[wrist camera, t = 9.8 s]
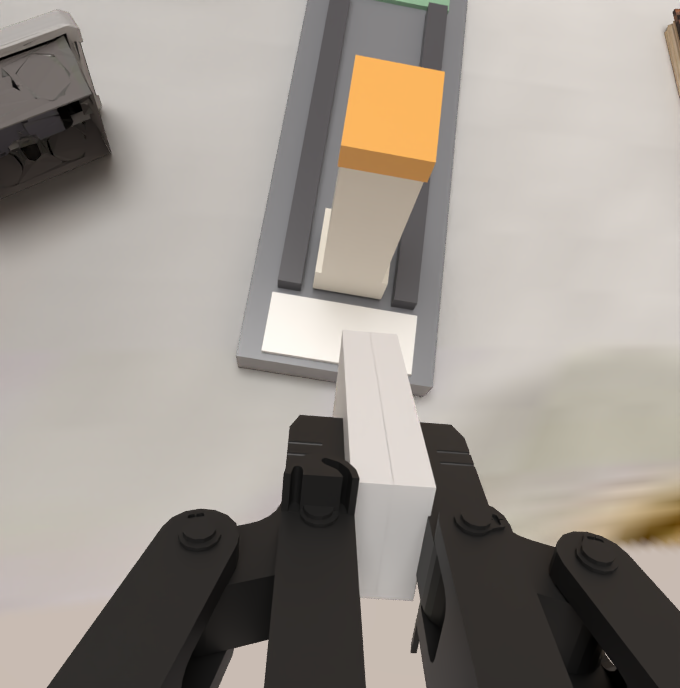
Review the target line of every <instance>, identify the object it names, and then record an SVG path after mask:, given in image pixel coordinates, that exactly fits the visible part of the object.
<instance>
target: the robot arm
mask: <svg viewBox="0 0 680 688" xmlns="http://www.w3.org/2000/svg"><path fill="white" fill-rule="evenodd" d="M417 582H418V589H419V594H420V605H419V609H418V615H417V619H416V623H415V628H414V633H413V638H412V642H411V653H417V648H418V644H419V642H420V649H421V654H422V662H423V668H424V674H425V681H426V687H427V688H680V611H679V610H678V609H677V608H676V607H675V605H674V604H673V603H672V602H671V601H670V600H669V599H668V598H667V597H666V596H665V595H664V593H663V592H662V591H661V590H660V589H659V588H658V587H657V586H656V585H655V583H654V582H653V581H652V580H651V579H650V578H649V577H648V576H647V575H646V574H645V572H643V570H641V568H640V567H639V566H638V565H637V564H636V562H635V561H634V560H633V559H632V558H631V557H630V556H629V555H628V554H627V553H626V552H625V551H624V550H623V549H621V548H620V547H619V546H618V545H617V544H615V543H613V542H612V541H610V540H608V539H606V538H604V537H602V536H599V535H596V534H592V533H589V532H571V533H567V534H564V535H563V536H562V537H561V538H560V539H559V540H558V542H557V544H556V547H552V546H549V545H546V544H542V543H539V542H535V541H532V540H529V539H526V538H524V537H521V536H519V535H517V534H515V533H513V531H512V529H511V526H510V524H509V523H508V521H507V520H506V518H505V517H504V515H502V514H501V513H500V512H498V511H497V510H496V509H495V508H493V507H491V506H489V505H488V502H487V499H486V496H485V494H484V491H483V488H482V485H481V483H480V480H479V477H478V474H477V472H476V469H475V467H474V463H473V461H472V458H471V455H469V449H468V447H467V444H466V441H465V438H464V437H463V436H462V435H461V434H460V433H459V432H458V431H457V430H456V429H455V428H454V427H453V426H452V425H447V424H434V423H421V422H419V418H418V414H417V410H416V406H415V402H414V398H413V394H412V391H411V387H410V383H409V379H408V375H407V371H406V367H405V363H404V359H403V355H402V351H401V347H400V343H399V340H398V336H397V334H387V333H375V332H363V331H352V330H342V338H341V347H340V356H339V365H338V374H337V383H336V392H335V401H334V410H333V417H320V416H307V415H300V416H299V417H298V418H297V419H296V420H295V421H294V422H293V424H292V425H291V426H290V430H289V440H288V450H287V460H286V469H285V472H284V477H283V490H282V502H281V504H280V506H279V507H278V509H277V510H276V511H275V512H274V513H272V514H271V515H270V516H269V517H267V518H264V519H262V520H260V521H257V522H254V523H250V524H245V525H239V526H237V525H236V523H235V522H234V521H233V520H232V519H231V518H230V517H229V516H228V515H226V514H223V513H221V512H218V511H216V510H208V509H196V510H190V511H185V512H183V513H181V514H178V515H176V516H174V517H172V518H171V519H170V520H169V521H168V522H167V523H166V524H165V525H163V526H162V528H161V529H160V531H159V532H158V533H157V535H156V536H155V538H154V539H153V540H152V542H151V543H150V545H149V546H148V547H147V549H146V550H145V552H144V553H143V554H142V556H141V557H140V559H139V560H138V561H137V563H136V564H135V565H134V567H133V568H132V570H131V571H130V572H129V574H128V575H127V577H126V578H125V579H124V581H123V582H122V584H121V585H120V586H119V588H118V589H117V591H116V592H115V593H114V595H113V596H112V598H111V599H110V600H109V602H108V603H107V604H106V606H105V607H104V609H103V610H102V611H101V613H100V614H99V616H98V617H97V618H96V620H95V621H94V623H93V624H92V625H91V627H90V628H89V630H88V631H87V632H86V634H85V635H84V637H83V638H82V639H81V641H80V642H79V644H78V645H77V646H76V648H75V649H74V650H73V652H72V653H71V655H70V656H69V657H68V659H67V660H66V662H65V663H64V664H63V666H62V667H61V669H60V670H59V672H58V673H57V674H56V676H55V677H54V679H53V680H52V681H51V683H50V684H49V686H48V687H47V688H218V687H219V685H220V682H221V680H222V677H223V676H224V673H225V671H226V669H227V666H228V664H229V662H230V660H231V657H232V654H233V650H234V648H237V647H241V646H245V645H249V644H253V643H257V642H261V641H264V640H269V641H268V652H267V662H266V673H265V683H264V688H366V684H365V669H364V654H363V637H362V622H361V608H360V598H374V599H391V600H408V601H412V600H413V598H414V594H415V589H416V584H417ZM605 653H606V654H607V656H608V657H609V658H610V660H611V661H612V663H613V664H614V665H615V666H614V665H613V664H612V663H611V662H610V660H609V659H608V658H607V656H606V655H605Z"/></svg>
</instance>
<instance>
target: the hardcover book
mask: <svg viewBox="0 0 680 688" xmlns="http://www.w3.org/2000/svg"><path fill="white" fill-rule="evenodd" d="M673 16H674V20H675V21H673V24H670V25H668V28H667V31H666V32H665V37H666V41H667V46H668V50H669V54H670V58H671V62H672V67H673V71H674V75H675V79H676V84H677V88H678V92H679V96H680V9H674V11H673Z"/></svg>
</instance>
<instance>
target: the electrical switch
mask: <svg viewBox="0 0 680 688" xmlns="http://www.w3.org/2000/svg"><path fill="white" fill-rule="evenodd" d="M81 42H83V39H82V36H81V33H80V29H79V28H78V26H77V24H76V23H75V21H74V20H73V18H72V16H71V15H70V13H68V12H65V11H61V10H54V11H51V12H48V13H45V14H42V15H39V16H37V17H34V18H31V19H28V20H25V21H22V22H19V23H16V24H13V25H11V26H8V27H5V28H2V29H0V199H2V198H4V197H7V196H9V195H11V194H14V193H16V192H18V191H21V190H23V189H26V188H28V187H30V186H33V185H35V184H38V183H40V182H42V181H45V180H47V179H50V178H52V177H54V176H57V175H59V174H61V173H64V172H66V171H69V170H71V169H73V168H76V167H78V166H81V165H83V164H85V163H88V162H90V161H93V160H95V159H97V158H100V157H102V156H105V155H107V154H109V153H110V152H111V150H110V147H109V143H108V140H107V137H106V133H105V130H104V127H103V124H102V120H101V117H100V114H99V109H100V108H101V107H102V104H101V101H100V98H99V96H98V95H96V93H95V90H94V86H93V83H92V80H91V76H90V73H89V70H88V66H87V63H86V60H85V56H84V53H83V50H82V46H81ZM83 121H86V122H85V124H84V125H83V124H82V123H81V122H83ZM71 126H73V127H71ZM83 134H84V135H85V136H86V139H85V137H84V135H83ZM49 137H50V138H49ZM48 139H49V140H48ZM103 139H104V140H103ZM47 140H48V142H49V144H50V147H51V149H52V152H53V155H54V156H55V157H54V156H52V155H51V153H50V151H49V150H48V145H47ZM104 141H105V142H104ZM35 143H37V145H38V147H39V150H40V152H41V156H40V157H39V158H38V159H37V160H33V161H32V160H29V159H28V158H27V157H26V156H25V154H24V153H23V152H22V150H21V149H20V148H22V147H25V146H29V145H32V144H35ZM105 143H106V144H105ZM106 145H107V146H108V148H109V150H110V152H109V150H108V148H107V146H106ZM16 151H17V152H16ZM8 153H11V154H14V155H15V156H16V157H17V158H18V159H19V160H20V161H21V163H22V164H23V166H24V167H23V170H22V166H21V165H20V163H19V162H18V161H17V160H16V158H15V157H14V156H13V155H11V154H8ZM82 155H83V157H82ZM81 157H82V158H81ZM63 161H67V162H63ZM17 183H18V185H16V184H17ZM14 185H15V186H14Z"/></svg>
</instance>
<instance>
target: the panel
mask: <svg viewBox="0 0 680 688" xmlns="http://www.w3.org/2000/svg"><path fill="white" fill-rule="evenodd" d="M466 11H467V0H308V1H307V6H306V11H305V16H304V21H303V26H302V31H301V36H300V41H299V46H298V51H297V56H296V61H295V66H294V71H293V76H292V81H291V86H290V91H289V95H288V100H287V105H286V110H285V115H284V120H283V125H282V130H281V135H280V140H279V145H278V150H277V155H276V160H275V165H274V170H273V175H272V180H271V185H270V190H269V195H268V200H267V205H266V210H265V215H264V220H263V225H262V230H261V235H260V240H259V245H258V250H257V255H256V260H255V265H254V270H253V275H252V279H251V284H250V289H249V294H248V299H247V304H246V309H245V314H244V319H243V324H242V329H241V334H240V339H239V344H238V349H237V354H236V358H237V363H238V367H243V368H249V369H255V370H261V371H268V372H274V373H280V374H286V375H293V376H299V377H305V378H311V379H318V380H324V381H330V382H336V383H337V374H338V365H339V356H340V347H341V338H342V330H352V331H363V332H375V333H387V334H397V336H398V340H399V343H400V347H401V351H402V355H403V359H404V363H405V367H406V371H407V375H408V379H409V383H410V387H411V391H412V394H413V395H418V396H424V395H425V394H426V393H427V392H428V391H429V390H430V389H431V388H432V387H433V377H434V366H435V355H436V343H437V332H438V321H439V310H440V299H441V288H442V277H443V266H444V255H445V244H446V233H447V222H448V211H449V200H450V188H451V177H452V166H453V155H454V144H455V133H456V122H457V111H458V100H459V89H460V78H461V67H462V56H463V45H464V33H465V22H466ZM356 55H360V56H365V57H370V58H375V59H381V60H386V61H391V62H396V63H402V64H407V65H412V66H417V67H423V68H428V69H433V70H438V71H444V72H445V76H444V86H443V96H442V106H441V116H440V126H439V136H438V146H437V155H436V163H435V165H434V168H433V170H432V173H431V175H430V177H429V180H428V182H424V183H423V185H422V187H421V190H420V192H419V195H418V197H417V199H416V202H415V204H414V207H413V209H412V211H411V214H410V216H409V219H408V221H407V223H406V226H405V228H404V231H403V233H402V235H401V238H400V240H399V243H398V245H397V247H396V250H395V252H394V255H393V257H392V259H391V262H390V269H389V277H388V284H387V287H386V289H385V291H384V294H383V296H382V298H381V299H375V298H369V297H363V296H357V295H351V294H345V293H339V292H333V291H327V290H321V289H315V288H313V282H314V276H315V270H316V264H317V257H318V251H319V245H320V239H321V233H322V227H323V221H324V215H325V209H326V208H330V209H332V203H333V198H334V192H335V186H336V181H337V175H338V169H339V167H338V159H339V153H340V147H341V141H342V135H343V129H344V122H345V116H346V110H347V104H348V98H349V92H350V85H351V79H352V73H353V67H354V61H355V56H356Z"/></svg>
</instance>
